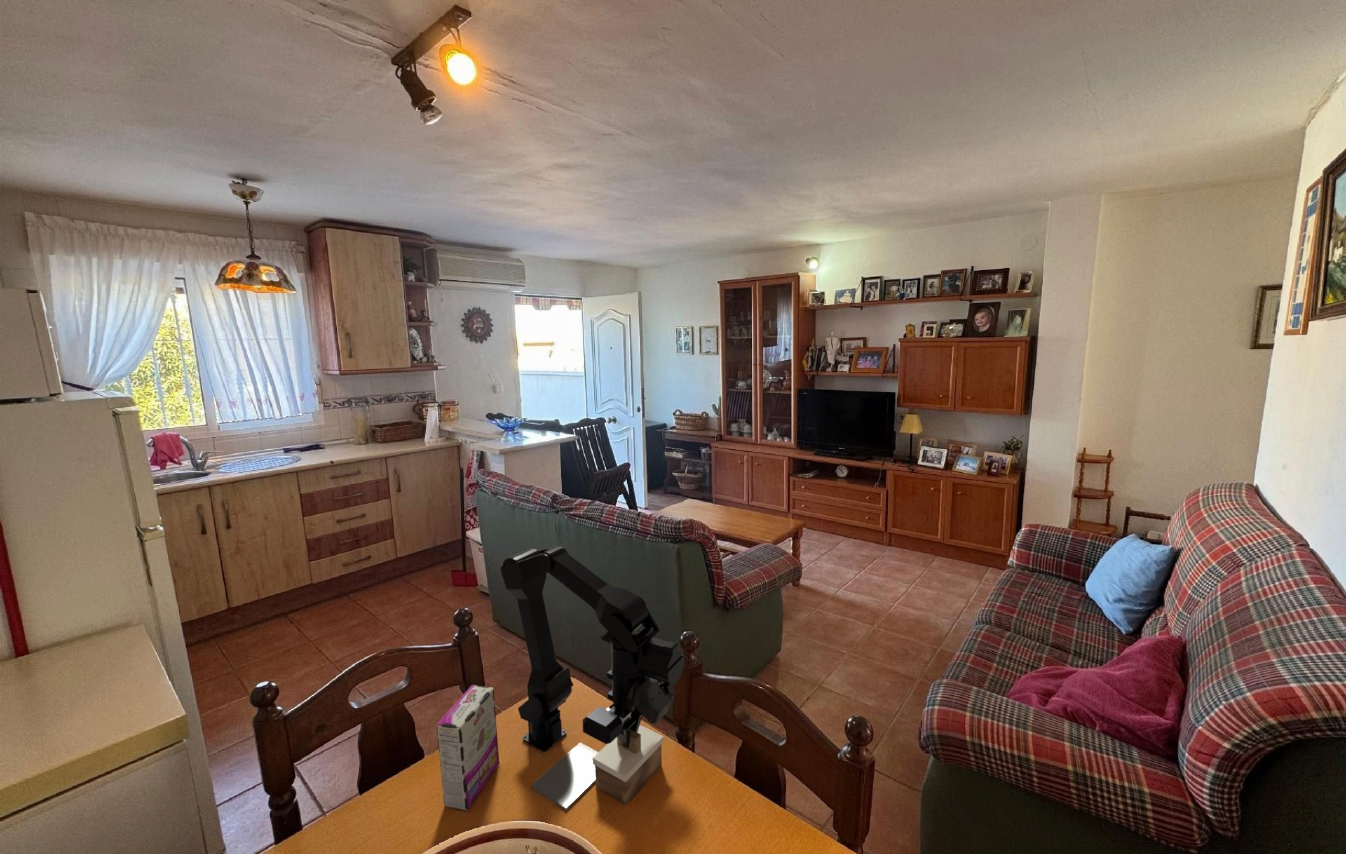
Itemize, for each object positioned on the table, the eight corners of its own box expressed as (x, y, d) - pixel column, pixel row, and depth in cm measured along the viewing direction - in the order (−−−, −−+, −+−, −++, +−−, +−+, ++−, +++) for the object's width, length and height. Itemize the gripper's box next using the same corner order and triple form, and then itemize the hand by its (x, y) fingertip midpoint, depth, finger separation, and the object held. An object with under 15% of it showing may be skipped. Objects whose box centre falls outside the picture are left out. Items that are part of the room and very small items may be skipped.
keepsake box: (625, 805, 95) (625, 780, 94) (595, 788, 98) (595, 763, 98) (661, 765, 104) (661, 742, 103) (632, 750, 108) (632, 728, 107)
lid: (625, 787, 94) (625, 760, 93) (592, 768, 98) (592, 742, 97) (663, 746, 103) (663, 721, 102) (632, 731, 107) (631, 707, 107)
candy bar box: (476, 760, 105) (471, 683, 103) (500, 764, 104) (495, 686, 102) (441, 808, 94) (434, 723, 92) (467, 813, 93) (461, 727, 91)
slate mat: (530, 787, 99) (530, 785, 98) (580, 744, 109) (580, 742, 109) (566, 810, 94) (566, 808, 94) (614, 763, 104) (614, 760, 104)
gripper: (630, 711, 86) (632, 798, 88) (692, 655, 101) (692, 731, 103) (579, 687, 92) (581, 769, 94) (644, 638, 107) (645, 709, 109)
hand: (628, 743), depth 100 cm, fingers closed on lid
